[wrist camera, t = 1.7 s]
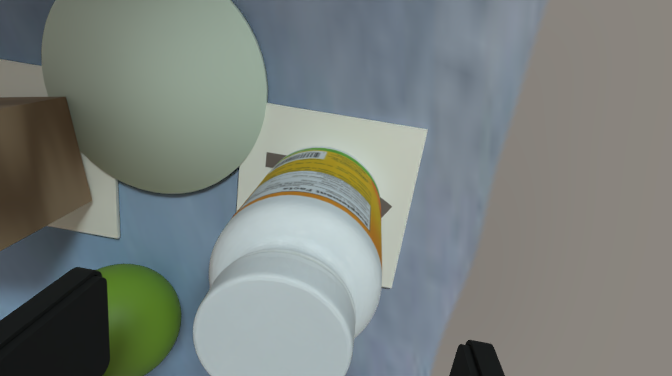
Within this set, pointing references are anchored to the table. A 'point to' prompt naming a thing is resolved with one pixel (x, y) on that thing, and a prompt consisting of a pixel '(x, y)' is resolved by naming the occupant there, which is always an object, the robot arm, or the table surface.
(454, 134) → the table surface
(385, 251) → the code tile
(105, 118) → the felt coaster
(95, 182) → the code tile
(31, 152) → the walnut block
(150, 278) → the snail figurine
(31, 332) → the robot arm
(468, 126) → the table surface
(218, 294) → the supplement bottle
